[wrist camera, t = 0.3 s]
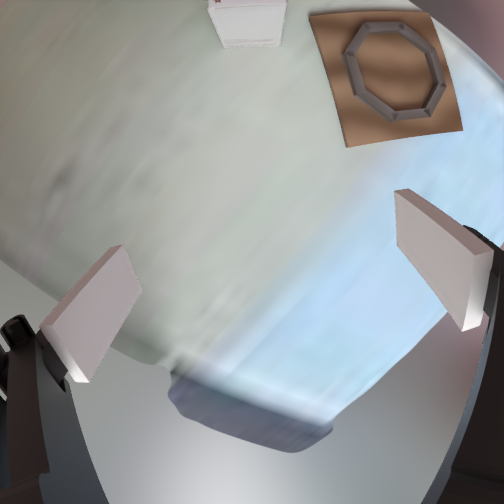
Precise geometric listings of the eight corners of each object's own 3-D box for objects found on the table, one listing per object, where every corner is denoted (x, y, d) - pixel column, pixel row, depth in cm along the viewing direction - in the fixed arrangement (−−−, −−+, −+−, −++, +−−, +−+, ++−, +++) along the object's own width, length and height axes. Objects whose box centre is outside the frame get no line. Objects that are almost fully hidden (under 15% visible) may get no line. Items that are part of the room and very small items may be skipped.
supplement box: (281, 47, 33) (288, 6, 21) (222, 49, 33) (203, 10, 21) (279, 1, 30) (283, -49, 18) (222, 3, 31) (205, -46, 19)
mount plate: (308, 19, 31) (311, 11, 28) (425, 15, 29) (433, 9, 26) (346, 147, 36) (351, 147, 34) (458, 130, 34) (469, 130, 32)
